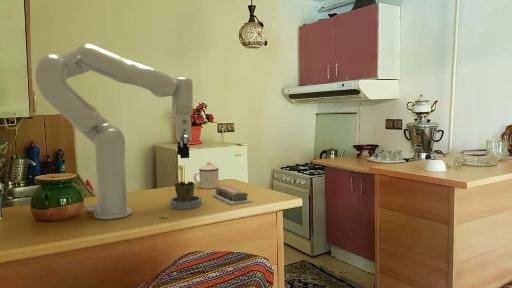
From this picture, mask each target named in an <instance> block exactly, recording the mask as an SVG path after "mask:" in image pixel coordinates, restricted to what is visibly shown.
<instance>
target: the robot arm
mask: <svg viewBox="0 0 512 288" xmlns="http://www.w3.org/2000/svg"><path fill="white" fill-rule="evenodd" d="M36 65H37V66H36V69H35V82H36V85H37V86H36V87H37V88H38V91H39V92H40V95H42V97H43V98H44V99H45V100H46V102H48V103H49V104H50V105H51V106H52V107H53V108H54V109H55V110H56V111H58V113H60V114H61V116H63V117H64V118H65V119H67V121H68V122H69V123H70V124H71V125H72V126H73V128H75V129H76V130H77V131H78V132H80V133H81V134H82V135H83V136H84V137H85V138H87V139H88V140H89V141H90V142H92V143H93V144H94V146H95V166H96V167H95V168H96V170H95V171H96V183H97V185H96V186H97V203H94V204H86V205H84V211H85V212H89V213H90V212H94V213H93V214H94V216H93V217H94V218H96V219H99V220H116V219H121V218H126V217H128V216H130V215H132V213H133V209H132V208H130V207H128V198H127V197H128V195H127V194H128V193H127V176H126V175H127V174H126V140H125V136H124V133H123V131H122V130H121V129H120V128H118V127H116V126H115V125H113V124H112V123H111V122H110V121H109V120H108V119H107V118H106V117H104V115H102V114H101V113H100V112H99V111H98V110H97V108H96V107H95V106H94V105H92V104H90V103H89V102H88V101H87V100H86V99H85V98H84V97H82V96H81V95H80V94H79V93H78V92H77V91H76V90H75V89H74V88H73V87H72V86H71V85H70V84H69V82H68V81H67V79H70V78H74V77H76V76H80V75H83V74H85V73H88V72H94V73H97V74H98V75H101V76H103V77H106V78H109V79H111V80H113V81H116V82H118V83H121V84H126V85H133V86H136V87H139V88H142V89H145V90H148V91H150V93H151V94H152V95H153V96H155V97H157V98H166V97H168V98H169V97H171V98H172V99H171V101H172V103H171V105H172V106H171V108H172V115H173V116H175V136H176V140H177V156H180V159H189V158H190V147H189V146H190V145H189V144H190V142H192V140H193V139H192V137H193V135H192V134H193V133H192V132H193V131H192V119H191V118H192V117H191V116H192V115H193V114H194V109H193V106H194V103H193V101H194V100H193V99H194V98H193V91H194V90H193V87H194V85H193V80H192V79H191V78H190V77H184V76H183V77H181V76H179V77H174V78H173V77H171V76H170V75H169V74H167V73H165V72H161V71H159V70H157V69H155V68H152V67H150V66H148V65H144V64H141V63H139V62H137V61H135V60H132V59H129V58H126V57H123V56H121V55H119V54H117V53H115V52H112V51H110V50H107V49H106V48H103V47H101V46H98V45H97V44H93V43H89V42H86V43H82V44H79V46H78V47H77V48H76V49H73V50H69V51H67V52H63V53H60V54H58V53H53V52H52V53H50V52H49V53H46V54H44V55H42V56H41V57H40V59H39V61H38V63H37V64H36Z"/></svg>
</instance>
